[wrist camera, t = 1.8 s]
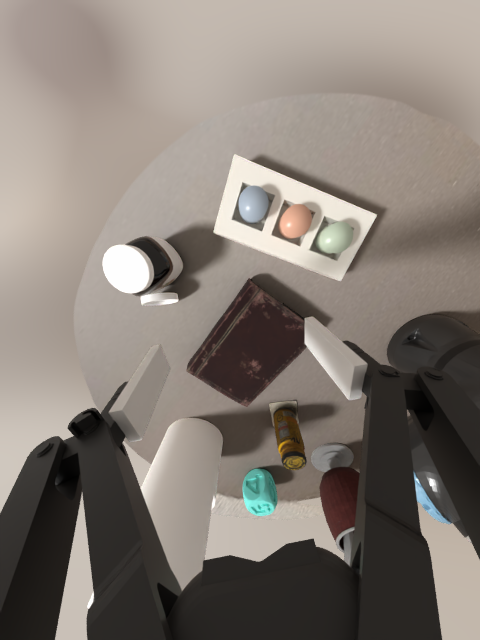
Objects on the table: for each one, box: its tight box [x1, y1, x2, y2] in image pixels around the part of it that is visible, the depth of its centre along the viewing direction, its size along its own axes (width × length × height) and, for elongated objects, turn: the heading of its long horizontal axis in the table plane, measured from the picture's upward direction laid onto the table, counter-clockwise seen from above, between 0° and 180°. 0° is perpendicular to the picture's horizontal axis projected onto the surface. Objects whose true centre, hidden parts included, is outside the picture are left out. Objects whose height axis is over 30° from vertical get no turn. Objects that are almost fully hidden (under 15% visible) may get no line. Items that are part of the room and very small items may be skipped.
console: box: [213, 154, 377, 281], centre depth 31 cm, size 24×11×4 cm, turn 71°
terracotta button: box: [278, 204, 312, 239], centre depth 28 cm, size 4×4×3 cm
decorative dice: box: [243, 469, 277, 516], centre depth 55 cm, size 8×8×8 cm
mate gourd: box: [311, 443, 360, 566], centre depth 45 cm, size 16×14×20 cm
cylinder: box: [87, 418, 223, 609], centre depth 40 cm, size 17×17×28 cm
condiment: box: [269, 401, 306, 470], centre depth 43 cm, size 7×8×12 cm
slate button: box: [239, 185, 269, 224], centre depth 28 cm, size 4×4×3 cm
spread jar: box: [103, 236, 183, 306], centre depth 32 cm, size 12×11×12 cm
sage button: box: [316, 222, 353, 253], centre depth 29 cm, size 4×4×3 cm
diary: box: [187, 278, 307, 407], centre depth 40 cm, size 19×25×5 cm
